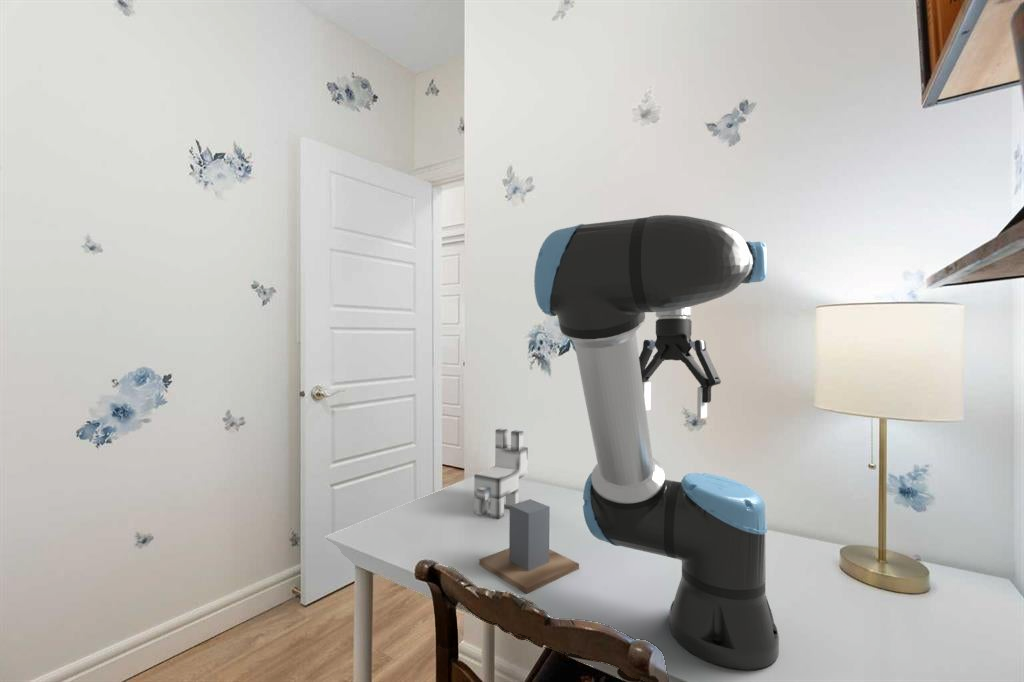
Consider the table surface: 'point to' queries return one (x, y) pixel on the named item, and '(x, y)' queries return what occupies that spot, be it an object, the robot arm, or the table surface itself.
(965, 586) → the table surface
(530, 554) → the gray upright pillar
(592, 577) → the table surface
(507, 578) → the post
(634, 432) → the robot arm
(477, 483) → the toy llama
